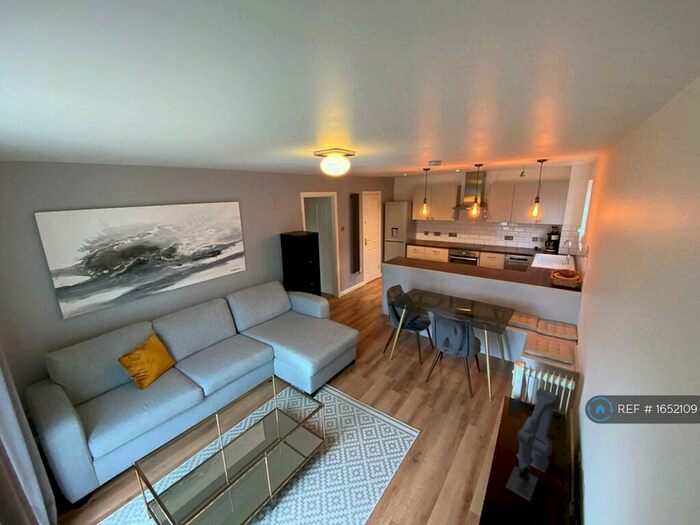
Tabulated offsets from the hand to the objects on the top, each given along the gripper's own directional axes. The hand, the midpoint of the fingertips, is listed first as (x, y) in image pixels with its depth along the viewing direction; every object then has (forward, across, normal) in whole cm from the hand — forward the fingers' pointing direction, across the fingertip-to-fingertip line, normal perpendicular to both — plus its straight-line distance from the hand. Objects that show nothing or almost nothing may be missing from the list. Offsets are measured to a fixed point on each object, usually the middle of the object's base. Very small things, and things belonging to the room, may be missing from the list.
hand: (524, 473), depth 155 cm
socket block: (+4, +4, 0) cm, 6 cm away
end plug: (+2, 0, 0) cm, 2 cm away
